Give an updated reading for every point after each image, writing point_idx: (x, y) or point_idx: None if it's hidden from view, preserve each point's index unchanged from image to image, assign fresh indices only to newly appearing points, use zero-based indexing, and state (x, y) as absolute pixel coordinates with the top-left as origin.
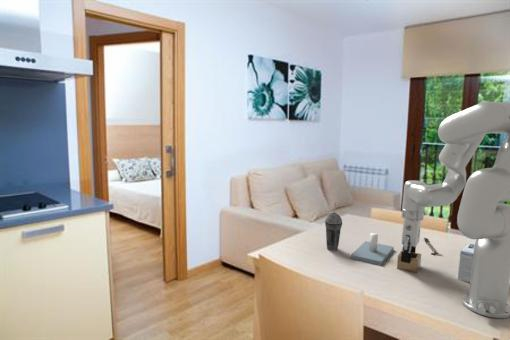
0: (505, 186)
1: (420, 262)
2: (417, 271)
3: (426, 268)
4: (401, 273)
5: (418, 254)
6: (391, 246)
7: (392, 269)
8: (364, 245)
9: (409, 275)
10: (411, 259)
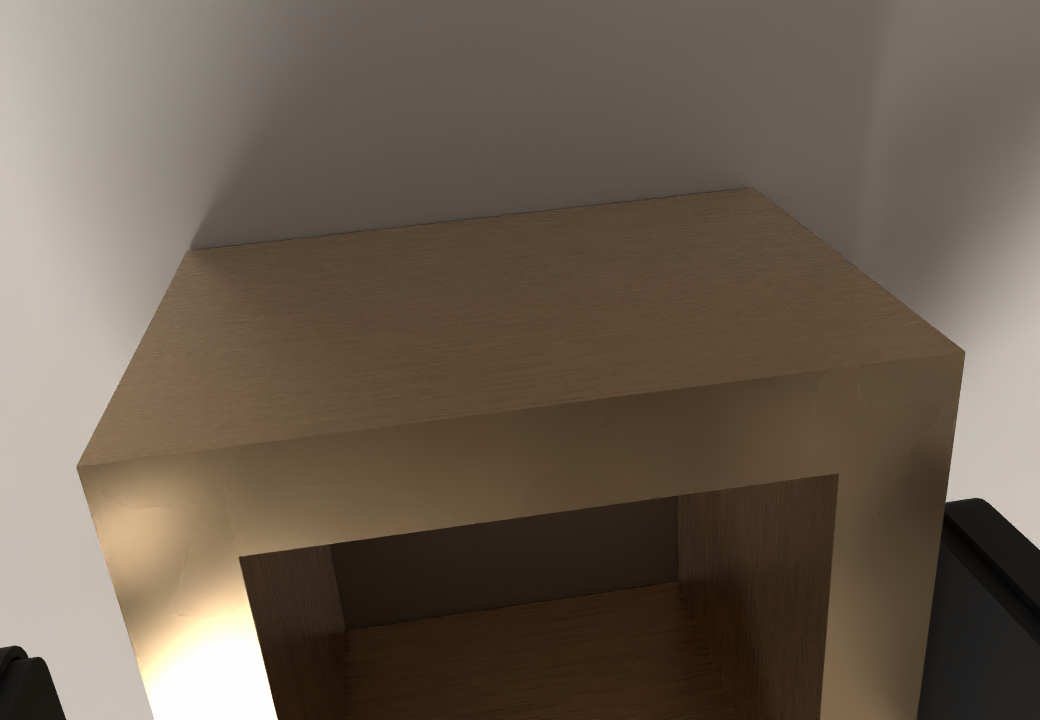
0: None
1: (204, 302)
2: (713, 200)
3: (179, 58)
4: (981, 461)
5: (258, 536)
6: None
7: None
8: None
9: (1015, 291)
10: (914, 550)
